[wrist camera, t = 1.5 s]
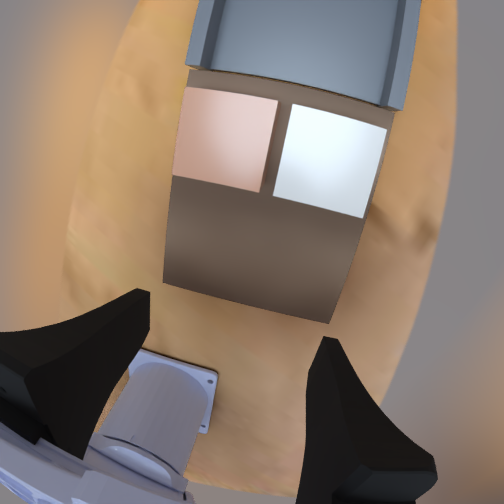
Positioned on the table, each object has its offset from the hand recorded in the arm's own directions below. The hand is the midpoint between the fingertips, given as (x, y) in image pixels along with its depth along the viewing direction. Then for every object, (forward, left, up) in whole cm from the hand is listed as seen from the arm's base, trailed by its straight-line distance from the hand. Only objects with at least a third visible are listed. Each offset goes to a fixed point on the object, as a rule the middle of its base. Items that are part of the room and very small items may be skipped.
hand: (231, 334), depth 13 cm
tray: (+14, 0, -8) cm, 17 cm away
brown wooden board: (+4, 0, -8) cm, 9 cm away
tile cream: (+7, -2, -5) cm, 9 cm away
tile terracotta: (+7, +2, -5) cm, 9 cm away
